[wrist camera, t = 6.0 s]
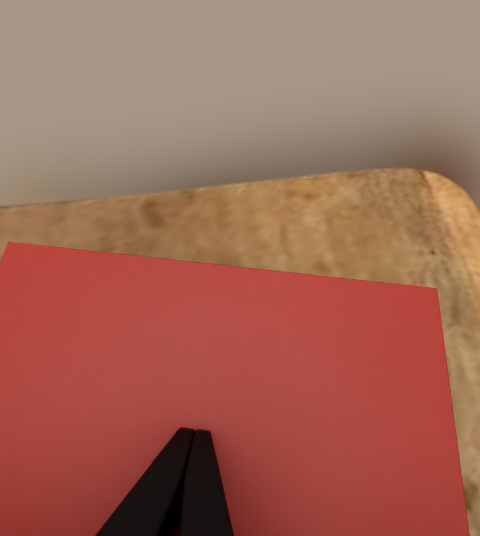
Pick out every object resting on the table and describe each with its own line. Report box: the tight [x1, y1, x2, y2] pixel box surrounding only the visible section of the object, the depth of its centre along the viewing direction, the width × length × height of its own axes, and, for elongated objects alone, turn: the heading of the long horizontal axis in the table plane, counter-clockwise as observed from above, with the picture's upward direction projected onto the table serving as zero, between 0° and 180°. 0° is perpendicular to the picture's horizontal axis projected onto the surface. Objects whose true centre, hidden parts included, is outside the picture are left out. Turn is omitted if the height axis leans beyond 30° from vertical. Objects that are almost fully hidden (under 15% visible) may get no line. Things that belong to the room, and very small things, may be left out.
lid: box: [0, 242, 470, 536], centre depth 9 cm, size 11×15×1 cm
